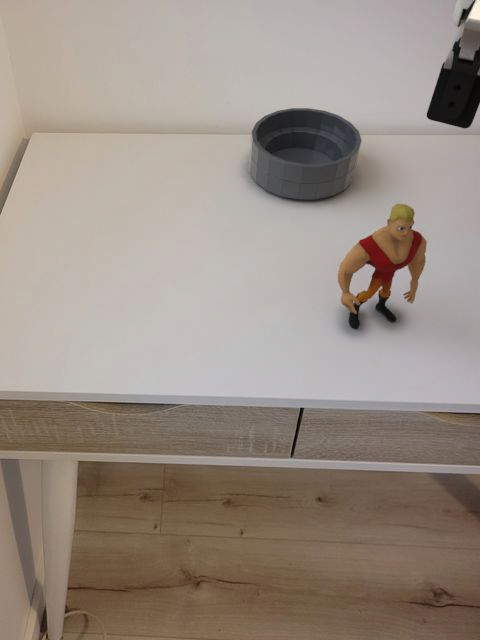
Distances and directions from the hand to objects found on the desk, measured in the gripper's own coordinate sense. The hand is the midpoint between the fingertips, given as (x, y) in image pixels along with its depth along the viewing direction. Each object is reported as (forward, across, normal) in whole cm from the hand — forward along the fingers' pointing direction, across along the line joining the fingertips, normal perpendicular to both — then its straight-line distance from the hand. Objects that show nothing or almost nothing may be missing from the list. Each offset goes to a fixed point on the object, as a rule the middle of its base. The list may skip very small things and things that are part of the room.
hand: (464, 93), depth 48 cm
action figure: (+26, -1, +1) cm, 26 cm away
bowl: (+25, +21, +19) cm, 38 cm away
